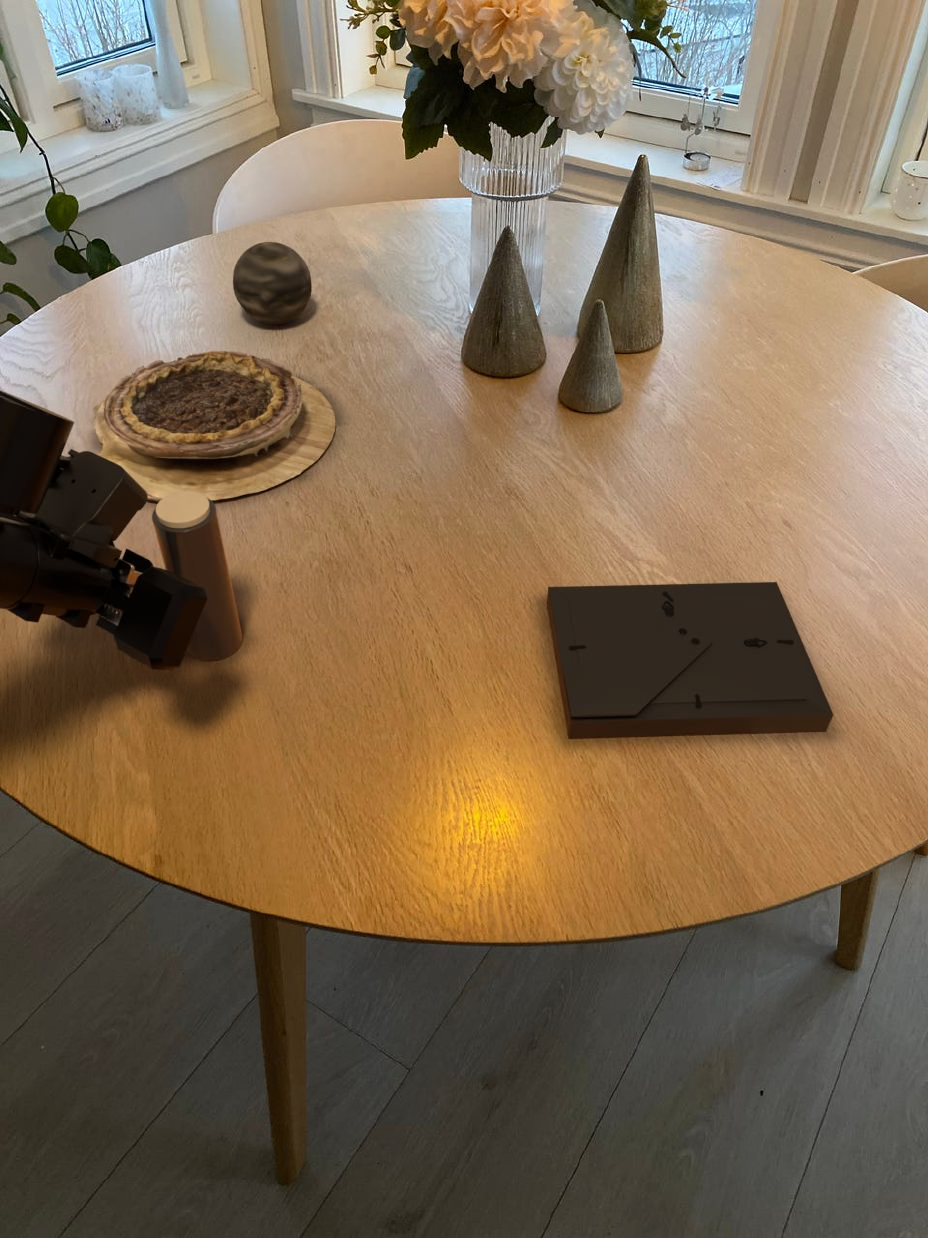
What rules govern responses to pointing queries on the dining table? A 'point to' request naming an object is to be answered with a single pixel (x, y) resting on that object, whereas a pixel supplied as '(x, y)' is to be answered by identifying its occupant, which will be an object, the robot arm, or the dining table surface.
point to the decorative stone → (272, 283)
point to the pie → (213, 425)
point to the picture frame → (682, 661)
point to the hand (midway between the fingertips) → (167, 594)
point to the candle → (200, 569)
